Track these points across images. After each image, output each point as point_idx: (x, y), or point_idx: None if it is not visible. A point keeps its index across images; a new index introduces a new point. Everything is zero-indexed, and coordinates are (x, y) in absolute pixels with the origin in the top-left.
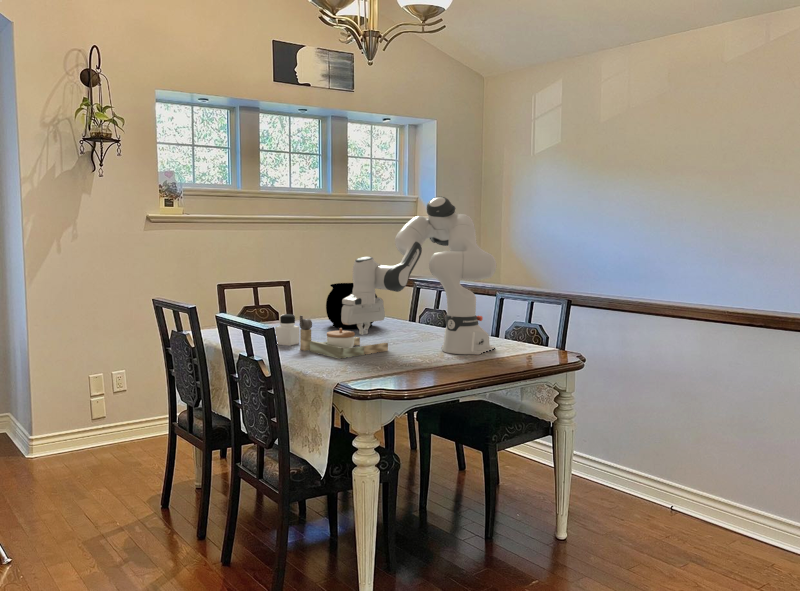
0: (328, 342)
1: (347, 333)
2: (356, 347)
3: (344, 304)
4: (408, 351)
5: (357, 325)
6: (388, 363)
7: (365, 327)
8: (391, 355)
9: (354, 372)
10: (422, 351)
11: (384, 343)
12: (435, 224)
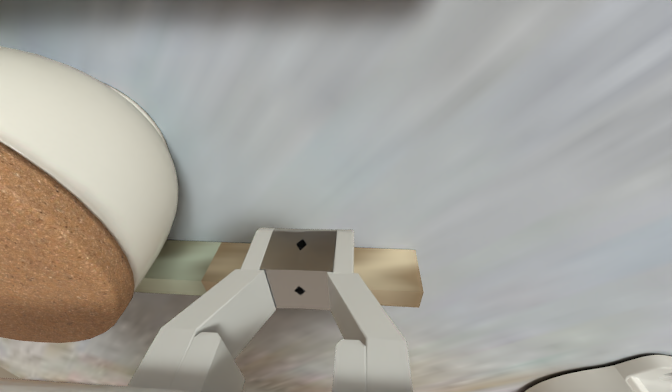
0: None
1: (14, 327)
2: (157, 284)
3: None
4: (469, 318)
5: (164, 335)
6: (236, 361)
7: (340, 311)
8: (334, 319)
9: (90, 362)
10: (509, 342)
11: (391, 302)
12: None
